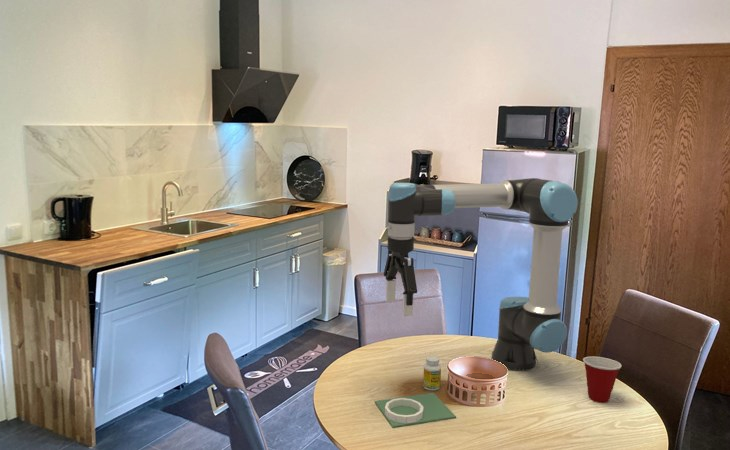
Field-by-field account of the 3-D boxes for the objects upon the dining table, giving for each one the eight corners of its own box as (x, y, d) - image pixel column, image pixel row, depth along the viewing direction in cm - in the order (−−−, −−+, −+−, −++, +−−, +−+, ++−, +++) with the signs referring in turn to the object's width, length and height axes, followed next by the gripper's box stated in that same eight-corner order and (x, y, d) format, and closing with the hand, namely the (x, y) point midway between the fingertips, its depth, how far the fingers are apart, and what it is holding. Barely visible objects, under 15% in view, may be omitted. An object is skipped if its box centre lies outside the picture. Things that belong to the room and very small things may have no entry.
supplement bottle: (432, 382, 183) (433, 353, 182) (443, 388, 179) (445, 359, 177) (419, 386, 180) (420, 357, 179) (430, 392, 176) (431, 363, 174)
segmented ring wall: (414, 402, 168) (414, 396, 168) (429, 420, 158) (429, 413, 158) (380, 407, 165) (380, 401, 165) (393, 425, 155) (393, 418, 155)
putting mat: (433, 394, 175) (433, 392, 175) (455, 417, 161) (456, 416, 161) (374, 402, 169) (374, 400, 169) (392, 427, 155) (392, 426, 155)
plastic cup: (618, 394, 177) (622, 357, 175) (617, 409, 167) (621, 371, 165) (581, 387, 181) (584, 351, 179) (578, 401, 172) (581, 364, 170)
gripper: (374, 229, 174) (372, 297, 178) (405, 246, 151) (402, 323, 155) (397, 228, 177) (395, 295, 180) (431, 245, 153) (428, 320, 157)
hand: (398, 308), depth 168 cm, fingers open, 13 cm apart
